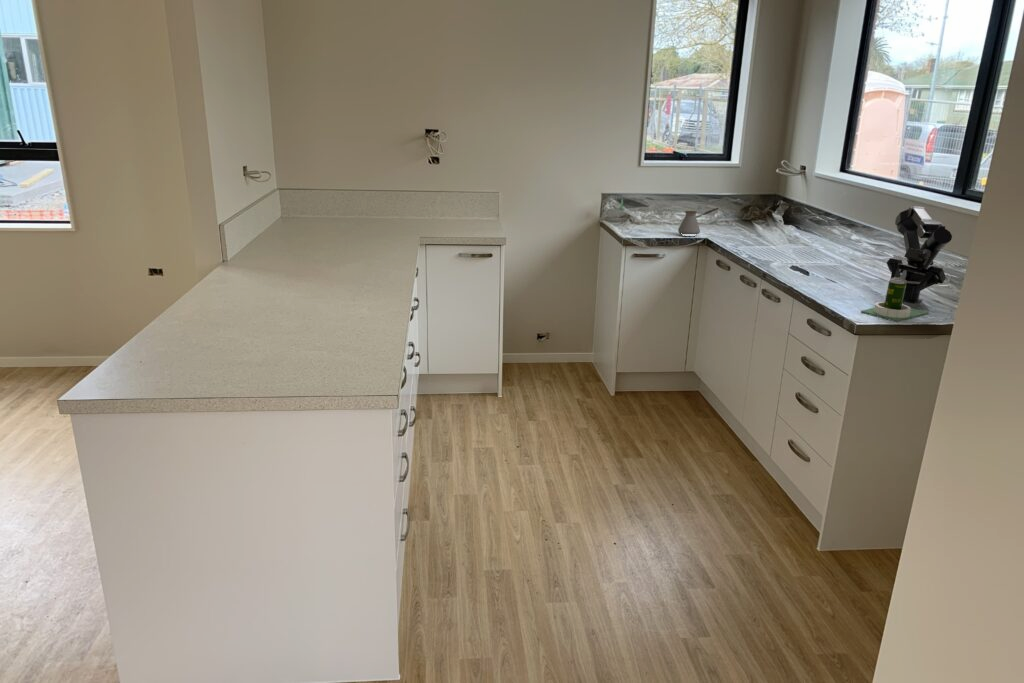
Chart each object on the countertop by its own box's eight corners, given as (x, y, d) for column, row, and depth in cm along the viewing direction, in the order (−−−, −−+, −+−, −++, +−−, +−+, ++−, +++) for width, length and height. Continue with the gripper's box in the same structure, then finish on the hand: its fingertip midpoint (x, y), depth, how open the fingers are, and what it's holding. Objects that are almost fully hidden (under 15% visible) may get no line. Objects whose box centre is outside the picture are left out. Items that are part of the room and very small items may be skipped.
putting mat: (892, 304, 264) (892, 303, 263) (928, 313, 253) (928, 312, 253) (860, 312, 253) (861, 310, 253) (897, 321, 243) (897, 320, 242)
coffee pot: (682, 237, 381) (685, 209, 376) (674, 233, 392) (677, 205, 387) (720, 237, 384) (724, 209, 380) (711, 233, 395) (715, 206, 390)
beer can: (893, 310, 254) (900, 277, 250) (903, 315, 249) (910, 281, 245) (879, 310, 253) (886, 277, 249) (888, 315, 248) (895, 281, 244)
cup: (884, 307, 258) (886, 300, 257) (915, 314, 250) (917, 307, 249) (867, 311, 252) (868, 304, 251) (898, 319, 244) (899, 312, 243)
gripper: (894, 235, 256) (870, 269, 254) (948, 244, 241) (923, 280, 239) (902, 254, 263) (879, 288, 260) (955, 265, 248) (931, 300, 246)
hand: (902, 288), depth 251 cm, fingers open, 9 cm apart
